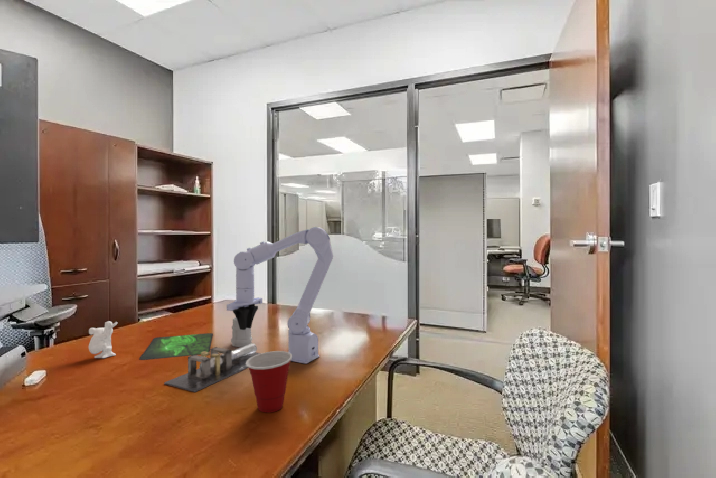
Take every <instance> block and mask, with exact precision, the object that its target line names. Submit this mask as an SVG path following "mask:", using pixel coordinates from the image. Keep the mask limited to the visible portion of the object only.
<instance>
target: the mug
mask: <svg viewBox="0 0 716 478" xmlns="http://www.w3.org/2000/svg"><path fill="white" fill-rule="evenodd" d="M231 330H232V331H231V332H232V334H231V339H230V342H231V346H232V347H236V348H237V347H238V348H241V347H243V346H246V345H249V344H251V343H252V341H253V337H252V326H251V328H246V330H241V329H240V328H239V324H238V321H237V318H236V316H235V317H233V318H232V325H231Z"/></svg>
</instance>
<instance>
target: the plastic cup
mask: <svg viewBox="0 0 716 478" xmlns="http://www.w3.org/2000/svg"><path fill="white" fill-rule="evenodd" d="M291 359H292V354H291V353H289V352H288V351H286V350H285V351H284V350H274V351H267V352H261V354H258V355H255V356H253V357H251V358H249V359H248V360H247V361H246V365H247V366H248V368H247V369H248V370H249V372H250V376H251V380H252V385H253V392H254V396H255V400H256V406H257V409H258V411H259V412H262V413H265V414H266V413H273V412H274V413H275V412H277V411H279V410H281V409H282V408H283V405H284V401H285V394H286V391H287V382H288V375H289V371H290V366H291V365H290V364H291V362H292V361H291Z"/></svg>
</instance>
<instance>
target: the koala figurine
mask: <svg viewBox="0 0 716 478" xmlns="http://www.w3.org/2000/svg"><path fill="white" fill-rule="evenodd" d="M117 324H118V322H117V321H115V322H114V323H113V322H112V321H110V320H108V321H106V322H104V327H97V328H96V327H90V328H89V329H88V334H89V335H92V337H91V338H90V341H89V344H88V351H89V352H90V354H92V355H94V359H106V358H109V357H113V356H116V355H117V354H116V353H115V352H113V351H112V348H113V347H112V334H113V333H114V329H113V328H114V327H115V326H117Z"/></svg>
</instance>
